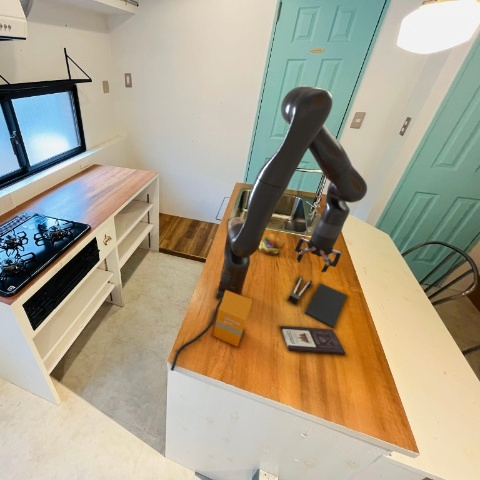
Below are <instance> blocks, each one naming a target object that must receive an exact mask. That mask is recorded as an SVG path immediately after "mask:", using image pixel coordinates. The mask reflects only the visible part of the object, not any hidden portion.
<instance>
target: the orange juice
mask: <svg viewBox="0 0 480 480" xmlns="http://www.w3.org/2000/svg"><path fill="white" fill-rule="evenodd" d="M252 304H253V299H252V298H249V297H246V296H244V295H242V294H241V295H238V294H235V293H233V292H230V291H227V290H225V293H224V296H223V299H222V302H221V304H220V306H219V308H218V311H217V316H216V321H215V325H214V330H213V334H212V336H213V337H215V338H217V339H220V340H221V341H223V342H226V343H228V344H231V345H232V346H234V347H238V346H239V343H240V340H241V337H242V335H243V332H244V329H245V326H246V322H247V319H248V317H249V314H250V310H251V307H252Z"/></svg>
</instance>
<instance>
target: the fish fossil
mask: <svg viewBox="0 0 480 480" xmlns="http://www.w3.org/2000/svg"><path fill="white" fill-rule="evenodd" d="M244 222H245V219H244V217H241V216H235V217H232V218H231V219H229V220H228V222H227V232H228V231H229V230H230V228H231V227H232V226H234V225H235V224H238V223H244Z"/></svg>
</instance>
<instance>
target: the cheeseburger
mask: <svg viewBox="0 0 480 480" xmlns="http://www.w3.org/2000/svg"><path fill="white" fill-rule="evenodd" d="M285 246H286V241H285V240H284V239H283V238H282V237H279V236H278V235H277V234H276V233H269V234H267V236H265V237H264V238H263V239H261V242H260V245H259V247H258V250H259V251H260V252H263V253H265V254H266V255H267V254H268V255H271V256H275V255H277V254H278V253H279V252H280V251H281V250H283V249H284V248H285Z"/></svg>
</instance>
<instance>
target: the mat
mask: <svg viewBox="0 0 480 480" xmlns="http://www.w3.org/2000/svg"><path fill="white" fill-rule="evenodd" d="M346 299H347V294H345V293H343V292H341V291H338V290H337V289H335V288H332V287H329V286H327V285H326V284H323V283H320V284H319V286H318V287H317V289H316V291H315V294H314V295H313V297H312V299H311V300H310V302H309V304H308V306H307V307H306V310H305V312H304V314H306V315H307V316H309V317H312V318H313V319H315V320H317V321H318V322H321V323H322V324H325V325H327V326H328V327H330V328H332V329H334V328H335V326H336V323H337V320H338V318H339V315H340V313H341V311H342V309H343V305H344V303H345V300H346Z"/></svg>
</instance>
